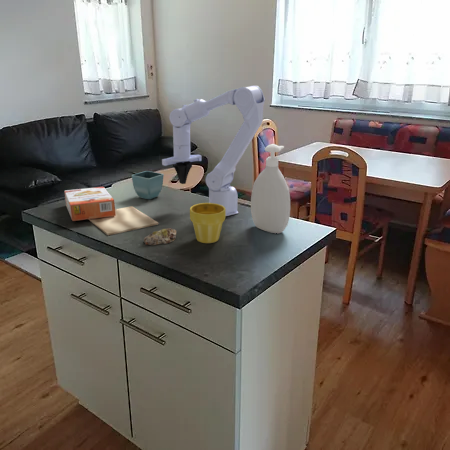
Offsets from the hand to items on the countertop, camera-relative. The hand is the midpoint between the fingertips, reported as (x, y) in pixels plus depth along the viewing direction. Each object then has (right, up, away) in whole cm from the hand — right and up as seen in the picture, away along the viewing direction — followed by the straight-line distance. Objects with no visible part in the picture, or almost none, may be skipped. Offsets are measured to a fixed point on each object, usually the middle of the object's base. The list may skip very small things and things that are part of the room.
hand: (182, 183), depth 160 cm
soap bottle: (+29, -16, -16) cm, 37 cm away
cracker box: (-27, -10, -13) cm, 32 cm away
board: (-19, -13, -10) cm, 26 cm away
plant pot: (+10, -19, -24) cm, 32 cm away
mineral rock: (-4, -20, -25) cm, 32 cm away
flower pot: (-14, -4, +14) cm, 20 cm away
